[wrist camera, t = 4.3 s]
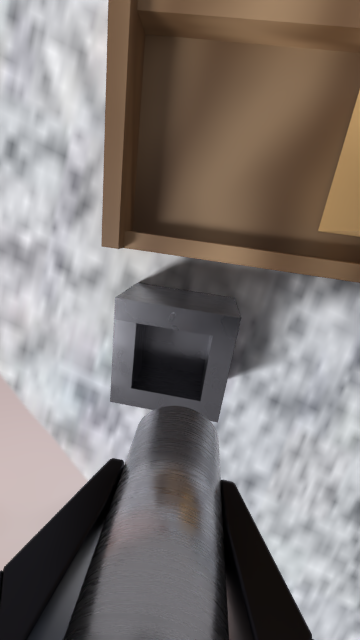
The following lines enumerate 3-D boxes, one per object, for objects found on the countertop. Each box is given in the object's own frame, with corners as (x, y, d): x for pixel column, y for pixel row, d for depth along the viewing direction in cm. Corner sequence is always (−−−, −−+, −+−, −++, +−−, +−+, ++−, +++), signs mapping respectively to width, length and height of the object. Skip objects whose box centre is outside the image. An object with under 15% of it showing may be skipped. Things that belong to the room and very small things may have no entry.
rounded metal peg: (226, 414, 9) (283, 963, 2) (210, 477, 10) (216, 980, 3) (140, 398, 9) (-48, 873, 2) (133, 462, 10) (-10, 915, 3)
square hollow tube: (234, 298, 18) (240, 318, 14) (216, 382, 20) (217, 422, 16) (137, 282, 19) (115, 297, 14) (130, 367, 21) (110, 401, 17)
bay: (577, 50, 12) (685, -4, 10) (455, 293, 16) (505, 306, 14) (130, 13, 14) (109, -42, 11) (119, 244, 18) (101, 246, 15)
